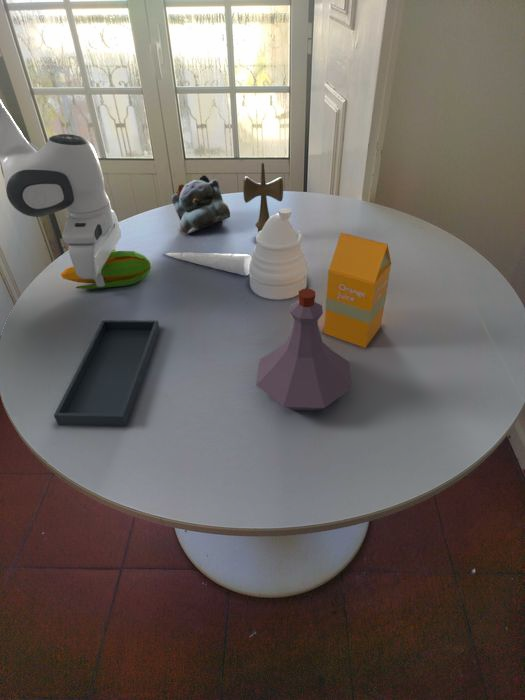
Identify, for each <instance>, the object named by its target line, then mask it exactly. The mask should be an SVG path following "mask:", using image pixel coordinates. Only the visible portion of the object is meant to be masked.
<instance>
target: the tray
mask: <svg viewBox="0 0 525 700" xmlns="http://www.w3.org/2000/svg"><path fill="white" fill-rule="evenodd" d="M160 331H161V328H160V325H159V320H139V319H138V320H133V319H132V320H129V319H128V320H127V319H125V320H124V319H123V320H122V319H120V320H119V319H117V320H116V319H115V320H113V319H109V320H108V319H103V320H101V323H100V324H99V326H98V328H97V331H96V332H95V334H94V335H93V336H94V337H93V338H92V340H91V342H90V343H89V346H88V348H87V350H86V352H85V354H84V356H83V358H82V359H81V361H80V363H79V365H78V367H77V369H76V371H75V373H74V375H73V377H72V379H71V381H70V383H69V385H68V387H67V389H66V390H65V392H64V395H63V397H62V399H61V401H60V402H59V404H58V406H57V407H56V410H55V412H54V413H53V418H54V419H55V421H56V424H57V426H70V427H71V426H73V427H75V426H76V427H81V426H82V427H125V428H126V427H127V426H128V422H129V419H130V417H131V414H132V411H133V409H134V405H135V402H136V400H137V397H138V394H139V392H140V388H141V386H142V383H143V380H144V377H145V375H146V371H147V368H148V366H149V364H150V360H151V357H152V355H153V351H154V348H155V345H156V343H157V341H158V337H159V334H160Z"/></svg>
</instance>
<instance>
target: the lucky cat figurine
mask: <svg viewBox="0 0 525 700" xmlns="http://www.w3.org/2000/svg"><path fill="white" fill-rule="evenodd" d="M170 200H171V202H172V204H173V206H174V210H175V212H176V214H177V216H178V218H179V226H180V230H181V231H182V232H183V233H185V234H186V235H190V234H192V233H194V232H196V231H199V230H201V229H204V228H206V227H209V226H212V225H214V224H216V223H219V222H221V221H222V222H223V221H224V220H227V219H229V218H231V211H230V208H229V206H228V204H226V203H225V201H224V200H223V195H222V193H221V188H220V184H219V181H218V180H217V179H212V180H210V179H209V178H208V176H207V175H203V174H202V176H200V177H199V179H193V180H191V181H189V182H187V183H186V184H183V183H182V184H179V185H178V187H177V191H176V192H175V193H173V194H172V196H170Z"/></svg>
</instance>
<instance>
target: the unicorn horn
mask: <svg viewBox="0 0 525 700" xmlns="http://www.w3.org/2000/svg"><path fill="white" fill-rule="evenodd" d="M165 255H166V256H167V257H171V258H175V259H177V260H181V261H184V262H189V263H192V264H196V265H200V266H204V267H208V268H212V269H215V270H220V271H224V272H229V273H232V274H235V275H236V274H237V275H239V276H243V277H244V276H245V277H246V276H250V275H249V273H250V272H249V270H250V269H249V264H250V260H251V259H252V256H251V255H250V254H247V253H245V254H244V253H243V254H242V253H234V254H233V253H218V252H217V253H216V252H207V253H206V252H165Z"/></svg>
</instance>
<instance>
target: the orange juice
mask: <svg viewBox="0 0 525 700" xmlns="http://www.w3.org/2000/svg"><path fill="white" fill-rule="evenodd" d="M391 266H392V259H391V254H390V249H389V244H388V243H385V242H381V241H376V240H373V239H368V238H364V237H360V236H356V235H352V234H348V233H345V232H340V234H339V237H338V241H337V242H336V247H335V250H334V253H333V255H332V259H331V262H330V265H329V268H328V272H327V283H326V285H327V286H326V298H325V314H324V328H323V334H325V335H328V336H331V337H334V338H336V339H338V340H342V341H345V342H348V343H351V344H353V345H356V346H359V347H362V348H364V349H365V348H367V346H368V345H369V343H370V342H371V341H372V339H373V338H374V337H375V335H376V334H377V332H378V331H379V330H380V328H381V326H382V322H383V314H384V308H385V304H386V297H387V293H388V292H387V291H388V285H389V278H390V272H391V268H392V267H391Z"/></svg>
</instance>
